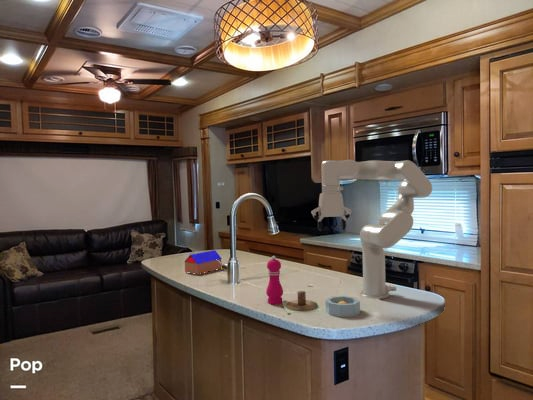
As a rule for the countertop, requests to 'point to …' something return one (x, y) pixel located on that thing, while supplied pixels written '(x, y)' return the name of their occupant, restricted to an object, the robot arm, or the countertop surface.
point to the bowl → (342, 306)
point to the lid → (302, 303)
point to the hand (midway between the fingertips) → (331, 230)
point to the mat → (299, 311)
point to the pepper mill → (274, 282)
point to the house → (202, 262)
